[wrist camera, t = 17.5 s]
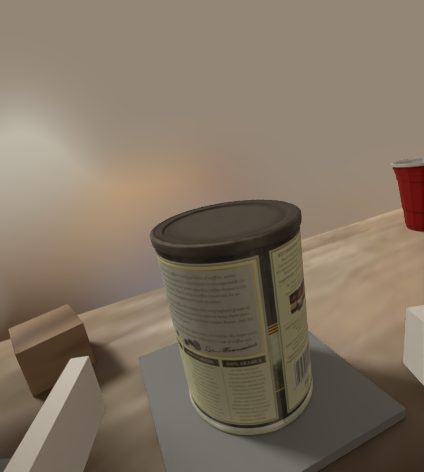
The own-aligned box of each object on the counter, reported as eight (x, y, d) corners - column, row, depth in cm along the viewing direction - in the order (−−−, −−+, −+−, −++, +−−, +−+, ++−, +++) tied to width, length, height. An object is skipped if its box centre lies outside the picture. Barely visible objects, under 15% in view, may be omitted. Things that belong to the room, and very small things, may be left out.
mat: (140, 364, 30) (138, 357, 30) (275, 311, 35) (275, 305, 35) (186, 552, 16) (183, 542, 15) (405, 417, 21) (406, 408, 20)
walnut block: (25, 367, 33) (8, 329, 31) (80, 339, 36) (67, 303, 35) (34, 398, 28) (15, 354, 27) (96, 363, 32) (82, 322, 30)
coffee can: (200, 340, 31) (173, 208, 26) (304, 337, 29) (292, 193, 24) (172, 436, 21) (123, 252, 17) (325, 440, 19) (313, 233, 15)
